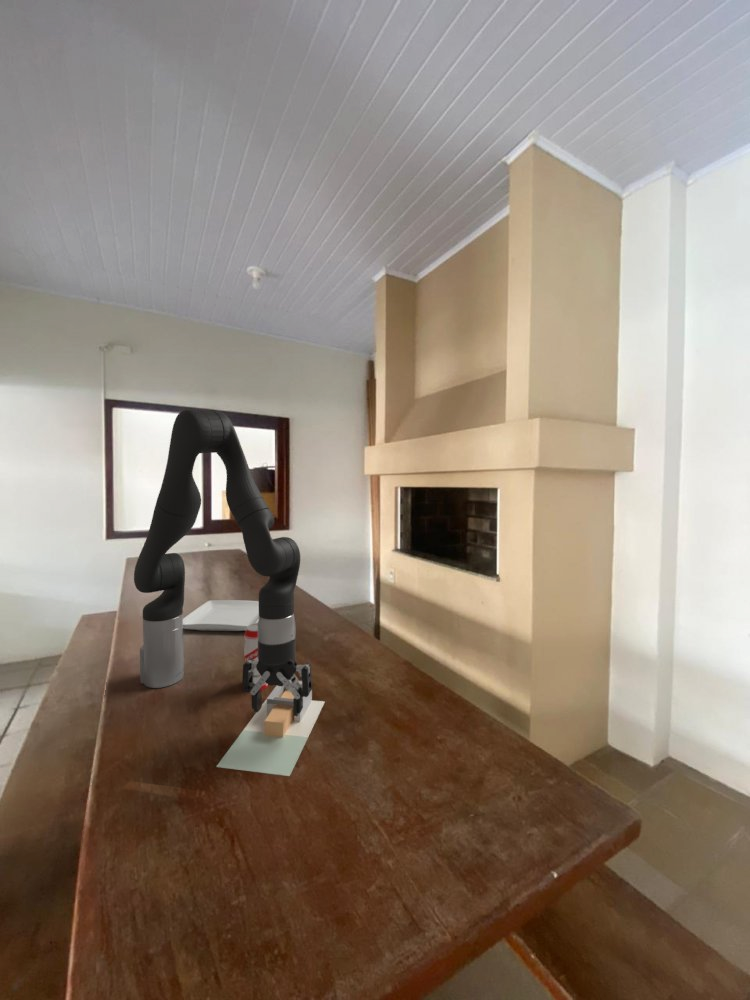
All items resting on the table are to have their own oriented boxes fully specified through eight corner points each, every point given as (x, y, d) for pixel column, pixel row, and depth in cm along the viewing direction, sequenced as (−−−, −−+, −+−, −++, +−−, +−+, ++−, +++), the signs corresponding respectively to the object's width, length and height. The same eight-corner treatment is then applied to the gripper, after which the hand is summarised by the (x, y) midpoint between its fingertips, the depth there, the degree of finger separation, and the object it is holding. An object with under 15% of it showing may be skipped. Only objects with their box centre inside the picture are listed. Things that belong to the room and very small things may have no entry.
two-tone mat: (216, 771, 72) (215, 743, 71) (268, 700, 95) (268, 677, 94) (289, 781, 70) (289, 751, 69) (324, 705, 93) (325, 683, 92)
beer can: (262, 696, 96) (262, 632, 95) (239, 693, 98) (239, 630, 97) (274, 683, 102) (274, 623, 101) (252, 680, 104) (252, 621, 103)
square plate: (254, 636, 133) (254, 625, 133) (174, 634, 134) (173, 623, 133) (275, 609, 160) (275, 599, 160) (208, 608, 161) (208, 598, 160)
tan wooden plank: (264, 735, 80) (264, 721, 80) (285, 702, 92) (285, 689, 92) (283, 737, 80) (283, 723, 80) (302, 703, 92) (302, 691, 92)
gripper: (235, 640, 78) (236, 719, 79) (304, 645, 76) (304, 726, 77) (252, 626, 85) (253, 699, 86) (315, 630, 83) (315, 704, 84)
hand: (277, 712), depth 81 cm, fingers open, 8 cm apart
